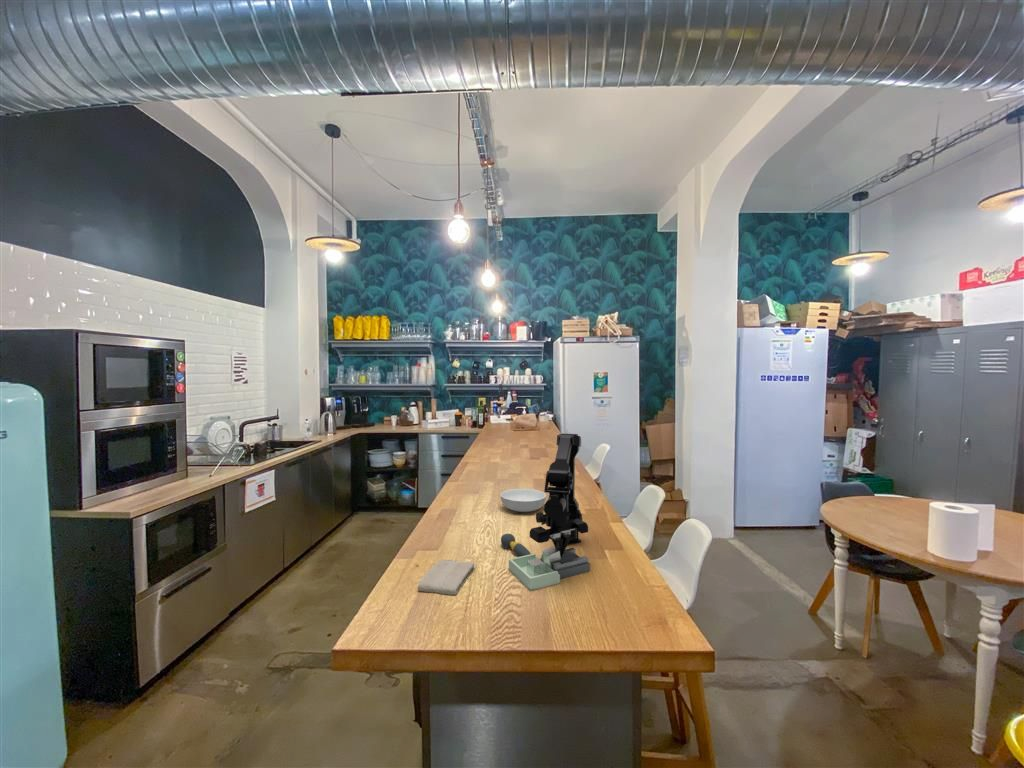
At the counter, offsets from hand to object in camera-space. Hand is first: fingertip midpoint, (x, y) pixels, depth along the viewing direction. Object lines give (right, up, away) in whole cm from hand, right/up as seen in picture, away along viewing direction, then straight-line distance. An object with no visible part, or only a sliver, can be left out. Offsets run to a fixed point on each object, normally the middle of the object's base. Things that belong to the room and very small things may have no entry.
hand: (559, 557), depth 132 cm
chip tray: (-8, -4, -4) cm, 10 cm away
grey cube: (-2, -1, -1) cm, 3 cm away
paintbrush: (-13, -4, +13) cm, 19 cm away
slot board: (+2, -4, +1) cm, 5 cm away
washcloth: (-34, -5, -5) cm, 35 cm away
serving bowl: (-10, -3, +60) cm, 61 cm away
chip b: (-6, -2, -3) cm, 7 cm away
